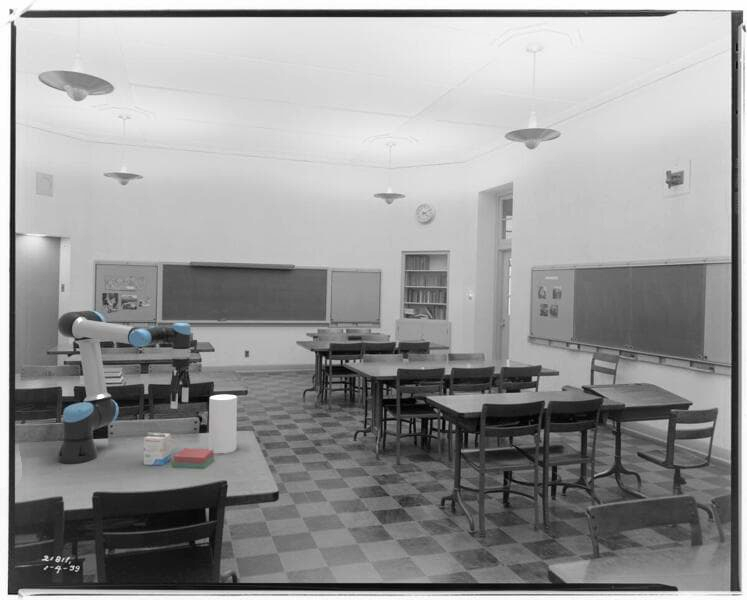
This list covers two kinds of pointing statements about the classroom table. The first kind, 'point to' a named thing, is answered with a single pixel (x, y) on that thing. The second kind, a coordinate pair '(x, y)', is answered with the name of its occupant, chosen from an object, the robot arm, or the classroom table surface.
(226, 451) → the cylinder
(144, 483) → the classroom table surface
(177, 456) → the book stack
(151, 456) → the ink box
